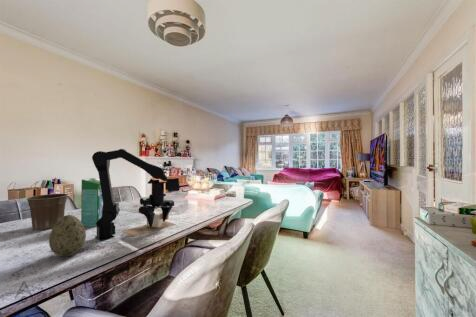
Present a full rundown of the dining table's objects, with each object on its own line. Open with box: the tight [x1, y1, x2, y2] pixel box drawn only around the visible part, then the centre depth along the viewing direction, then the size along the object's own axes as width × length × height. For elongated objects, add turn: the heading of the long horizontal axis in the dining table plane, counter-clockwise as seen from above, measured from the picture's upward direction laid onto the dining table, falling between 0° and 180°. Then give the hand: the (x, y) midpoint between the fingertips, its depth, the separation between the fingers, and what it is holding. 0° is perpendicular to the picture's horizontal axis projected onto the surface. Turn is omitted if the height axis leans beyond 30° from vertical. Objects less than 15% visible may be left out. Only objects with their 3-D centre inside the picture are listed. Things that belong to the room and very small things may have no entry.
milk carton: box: [80, 177, 103, 228], centre depth 117 cm, size 9×9×25 cm
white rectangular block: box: [146, 210, 170, 227], centre depth 113 cm, size 11×6×6 cm, turn 86°
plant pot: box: [26, 193, 69, 231], centre depth 112 cm, size 16×16×16 cm
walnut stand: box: [121, 220, 177, 238], centre depth 109 cm, size 23×12×5 cm, turn 143°
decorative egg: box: [48, 214, 87, 257], centre depth 80 cm, size 11×11×15 cm
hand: (157, 223), depth 106 cm, fingers open, 9 cm apart
